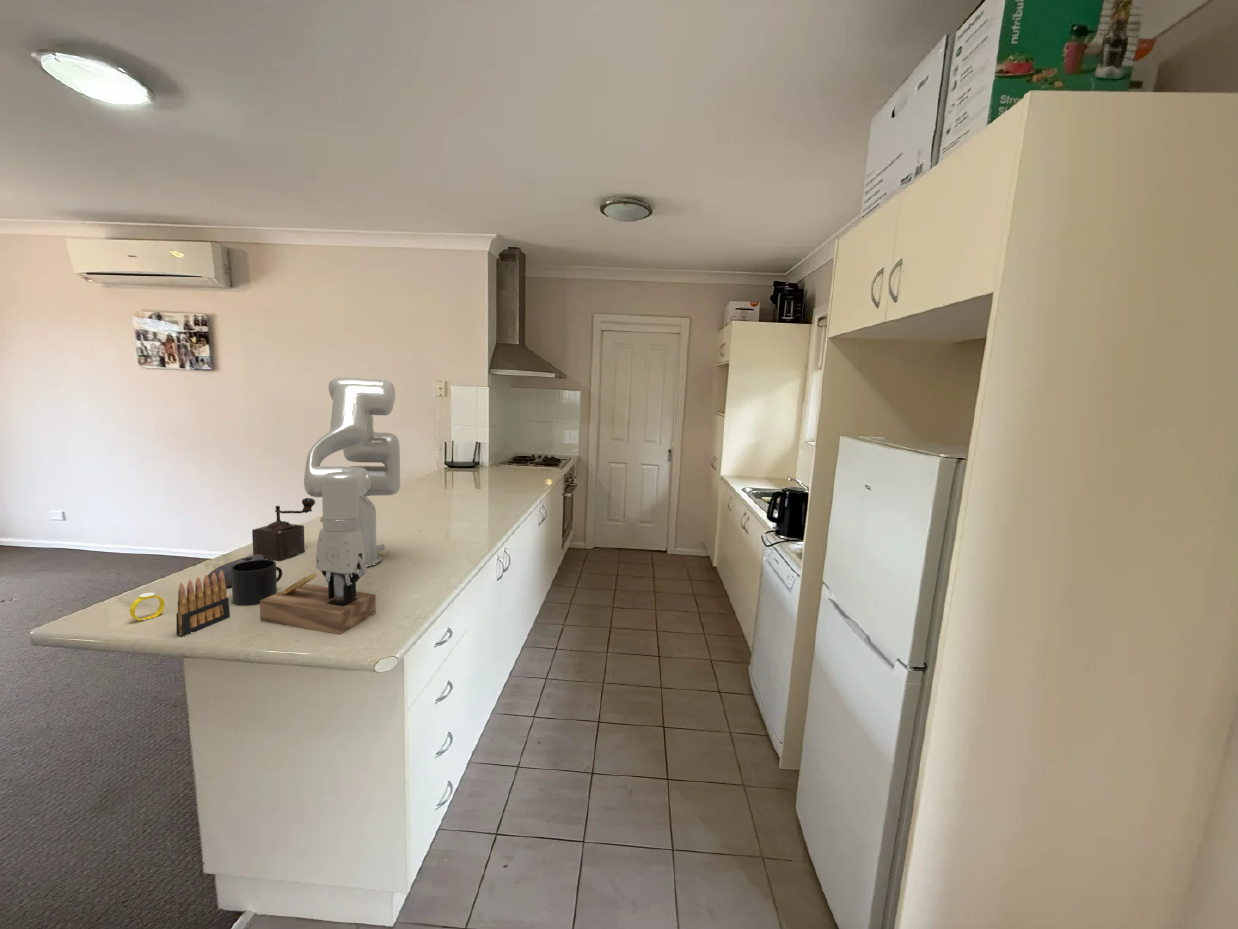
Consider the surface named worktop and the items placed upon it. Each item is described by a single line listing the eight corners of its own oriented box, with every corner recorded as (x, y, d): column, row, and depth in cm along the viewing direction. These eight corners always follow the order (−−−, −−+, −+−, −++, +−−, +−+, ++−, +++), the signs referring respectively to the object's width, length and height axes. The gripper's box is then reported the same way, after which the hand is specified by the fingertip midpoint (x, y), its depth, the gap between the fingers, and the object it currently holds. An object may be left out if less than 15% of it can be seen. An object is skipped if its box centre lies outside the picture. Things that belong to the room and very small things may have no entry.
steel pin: (341, 609, 123) (341, 567, 122) (354, 611, 123) (353, 568, 121) (330, 615, 120) (329, 571, 118) (343, 618, 119) (342, 573, 118)
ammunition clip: (224, 616, 120) (221, 568, 119) (230, 617, 120) (228, 569, 119) (176, 635, 110) (173, 583, 109) (182, 637, 110) (179, 585, 108)
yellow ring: (159, 614, 120) (160, 589, 120) (166, 616, 119) (167, 592, 119) (127, 622, 115) (128, 596, 114) (134, 624, 114) (135, 599, 113)
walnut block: (301, 601, 131) (301, 583, 130) (375, 613, 126) (375, 594, 126) (260, 620, 119) (259, 600, 118) (340, 634, 115) (339, 613, 114)
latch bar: (294, 590, 125) (292, 587, 125) (317, 576, 123) (315, 572, 123) (283, 595, 122) (281, 592, 122) (307, 580, 120) (304, 577, 120)
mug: (294, 592, 136) (293, 560, 135) (248, 608, 125) (247, 574, 124) (270, 586, 139) (269, 554, 138) (223, 601, 128) (222, 567, 127)
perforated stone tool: (211, 594, 132) (209, 569, 131) (200, 590, 134) (199, 565, 133) (271, 578, 145) (271, 555, 144) (261, 574, 147) (260, 551, 147)
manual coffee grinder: (281, 561, 158) (279, 506, 156) (251, 557, 160) (249, 503, 158) (319, 548, 173) (318, 497, 171) (291, 544, 175) (290, 494, 173)
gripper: (298, 523, 116) (300, 599, 119) (360, 531, 113) (361, 608, 116) (323, 516, 124) (325, 587, 126) (382, 524, 120) (382, 596, 123)
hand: (342, 597), depth 121 cm, fingers closed on steel pin, 3 cm apart
